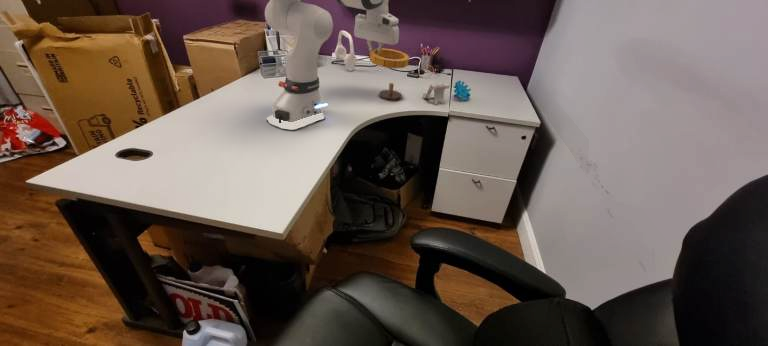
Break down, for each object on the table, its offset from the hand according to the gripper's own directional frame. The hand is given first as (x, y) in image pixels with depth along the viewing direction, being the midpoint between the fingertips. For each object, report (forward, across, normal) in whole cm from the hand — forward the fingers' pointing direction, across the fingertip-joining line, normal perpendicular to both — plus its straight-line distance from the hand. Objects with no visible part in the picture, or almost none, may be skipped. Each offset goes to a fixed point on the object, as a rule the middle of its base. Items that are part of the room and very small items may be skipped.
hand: (374, 51), depth 140 cm
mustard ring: (+3, +7, 0) cm, 8 cm away
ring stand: (+18, +9, +1) cm, 20 cm away
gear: (+18, +37, +21) cm, 46 cm away
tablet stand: (+18, +28, +10) cm, 35 cm away
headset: (+18, -31, +23) cm, 43 cm away
